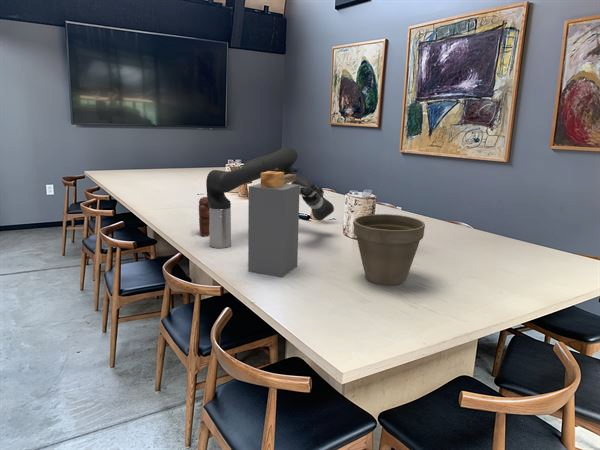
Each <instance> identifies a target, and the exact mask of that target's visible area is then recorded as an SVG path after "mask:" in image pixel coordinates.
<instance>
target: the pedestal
mask: <svg viewBox="0 0 600 450" xmlns="http://www.w3.org/2000/svg"><path fill="white" fill-rule="evenodd" d="M299 192H300V185H295V184H291V183H287V184H284V186H282V187H279V188H266V187H261V182H260V183H257V184H253V185H250V186H248V209H247V210H248V217H247V218H248V220H247V221H248V227H247V228H248V229H247V230H248V231H247V232H248V236H247V237H248V238H247V239H248V241H247V242H248V245H247V247H248V251H247V256H248V260H247V261H248V262H247V268H248V269H247V270H248V272H250V273H255V274H260V275H267V276H272V277H278V278H283V277H285V276H286V275H288V274H289V273H290V272H292V271H293V270H294V269H296V268H297V267H298V259H299V258H298V255H299V253H298V251H299V226H300V225H299V223H300V222H299V221H300V220H299V219H300V218H299V217H300V194H299Z"/></svg>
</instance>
